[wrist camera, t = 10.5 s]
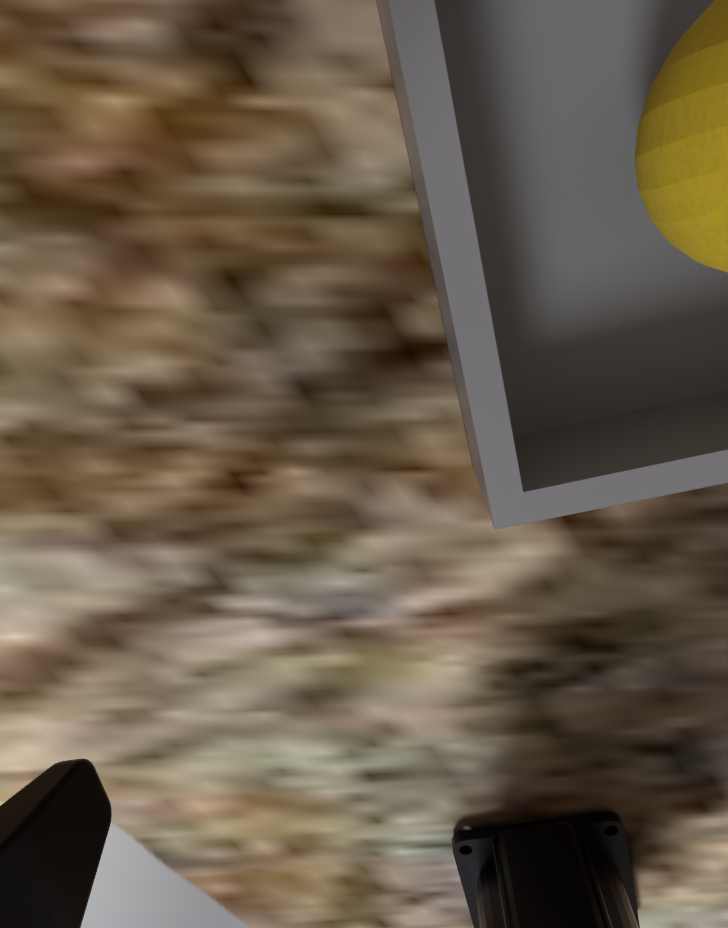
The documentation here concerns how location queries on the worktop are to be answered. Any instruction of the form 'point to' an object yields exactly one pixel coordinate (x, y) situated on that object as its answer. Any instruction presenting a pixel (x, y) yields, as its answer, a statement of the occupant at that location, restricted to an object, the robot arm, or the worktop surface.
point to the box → (559, 251)
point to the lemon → (689, 142)
